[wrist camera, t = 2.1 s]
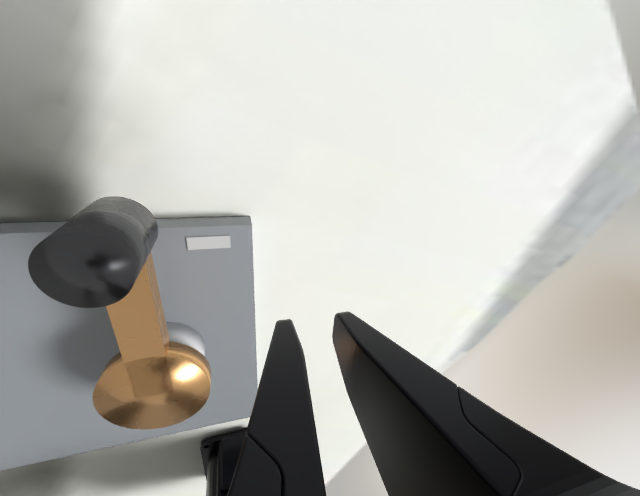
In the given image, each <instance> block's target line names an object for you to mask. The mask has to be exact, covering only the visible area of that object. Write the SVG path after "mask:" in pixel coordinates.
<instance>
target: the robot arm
mask: <svg viewBox="0 0 640 496" xmlns="http://www.w3.org/2000/svg"><path fill="white" fill-rule="evenodd" d="M332 337H333V344H334V347H335V351H336V354H337V358H338V362H339V365H340V369H341V372H342V376H343V379H344V383H345V386H346V390H347V393H348V395H349V398H350V401H351V403H352V406H353V408H354V411H355V413H356V416H357V418H358V421H359V423H360V426H361V428H362V431H363V433H364V436H365V438H366V440H367V443H368V445H369V448H370V450H371V453H372V455H373V458H374V460H375V463H376V465H377V467H378V470H379V473H380V475H381V477H382V480H383V483H384V485H385V487H386V490H387V492H388V495H389V496H640V490H638V489H635V488H632V487H630V486H627V485H625V484H623V483H620V482H617V481H616V480H614V479H612V478H610V477H608V476H605V475H604V474H602V473H600V472H598V471H596V470H594V469H592V468H591V467H589V466H587V465H586V464H584V463H582V462H581V461H579V460H577V459H575V458H574V457H572V456H571V455H569V454H567V453H565V452H564V451H562V450H560V449H559V448H557V447H555V446H554V445H552V444H550V443H548V442H546V441H545V440H543V439H542V438H540V437H538V436H536V435H535V434H533V433H531V432H530V431H528V430H526V429H525V428H523V427H521V426H520V425H518V424H517V423H515V422H513V421H512V420H510V419H508V418H507V417H505V416H503V415H502V414H500V413H499V412H497V411H495V410H494V409H492V408H491V407H489V406H488V405H486V404H485V403H483V402H482V401H480V400H479V399H477V398H476V397H474V396H472V395H471V394H470V393H468V392H467V391H465V390H464V389H462V388H461V387H457V385H456V384H455V383H453V382H452V381H450V380H449V379H447V378H446V377H444V376H443V375H442V374H440V373H439V372H437V371H436V370H434V369H433V368H431V367H430V366H428V365H427V364H425V363H424V362H423V361H421V360H420V359H418V358H417V357H415V356H414V355H412V354H411V353H409V352H408V351H406V350H405V349H404V348H402V347H401V346H399V345H398V344H396V343H395V342H393V341H392V340H390V339H389V338H387V337H386V336H384V335H383V334H382V333H380V332H379V331H377V330H376V329H374V328H373V327H371V326H370V325H368V324H367V323H365V322H364V321H362V320H361V319H360V318H358V317H357V316H355V315H354V314H352V313H351V312H341V313H337V314H336V315H335V318H334V326H333V335H332ZM201 453H202V458H203V464H204V469H205V474H206V480H207V489H206V496H326V491H325V484H324V478H323V472H322V465H321V459H320V453H319V446H318V440H317V434H316V427H315V421H314V415H313V408H312V402H311V395H310V389H309V383H308V376H307V370H306V364H305V357H304V353H303V349H302V346H301V343H300V341H299V338H298V335H297V333H296V330H295V327H294V325H293V322H292V320H290V319H287V320H279V321H277V322H276V325H275V329H274V332H273V336H272V340H271V343H270V347H269V351H268V354H267V358H266V362H265V365H264V369H263V373H262V376H261V380H260V384H259V387H258V391H257V395H256V398H255V402H254V406H253V409H252V413H251V417H250V420H249V424H248V428H247V430H243V431H239V432H234V433H230V434H226V435H221V436H217V437H212V438H208V439H204V440H203V441H202V442H201Z"/></svg>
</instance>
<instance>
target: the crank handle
mask: <svg viewBox="0 0 640 496" xmlns="http://www.w3.org/2000/svg"><path fill="white" fill-rule="evenodd" d="M157 237H158V226H157V222H156V220H155V218H154V217H153V215H152V214H151V213H150V211H149V210H148V209H147V208H145V207H144V206H143V205H141V204H140V203H138V202H136V201H134V200H131V199H128V198H124V197H105V198H101V199H98V200H96V201H94V202H93V203H91V204H90V205H89V206H87V207H86V208H85V209H83V210H82V211H81V212H79V213H78V214H77V215H75V216H74V217H73V218H71V219H70V220H69V221H68V222H66V223H65V224H64V225H62V226H61V227H60V228H58V229H57V230H56V231H54V232H53V233H52V234H50V235H49V236H48V237H46V238H45V239H44V240H42V241H41V242H40V243H39V244H38V245H36V246H35V248H34V249H33V250H32V252H31V254H30V256H29V260H28V270H29V274H30V277H31V278H32V280H33V282H34V283H35V285H36V286H37V287H38V288H39V289H40V290H41V291H42V292H43V293H45V294H46V295H47V296H49V297H50V298H52V299H54V300H56V301H58V302H61V303H63V304H66V305H70V306H74V307H80V308H98V307H104V306H106V308H107V311H108V314H109V318H110V321H111V324H112V327H113V330H114V333H115V336H116V340H117V343H118V346H119V349H120V352H119V353H118V354H116V355H115V356H114V357H113V358H111V359H110V360H109V362H108V363H107V364H106V366H105V367H104V369H103V371H102V373H101V375H100V377H99V380H98V382H97V384H96V386H95V389H94V391H93V396H92V398H93V404H94V407H95V409H96V411H97V412H98V413H99V414H100V415H101V416H102V417H103V418H104V419H106V420H107V421H109V422H111V423H113V424H115V425H118V426H121V427H125V428H130V429H140V430H147V429H158V428H164V427H168V426H172V425H175V424H178V423H180V422H182V421H184V420H186V419H188V418H190V417H191V416H193V415H194V414H196V413H197V412H198V411H199V410H200V409H201V408H202V407H203V406H204V405H205V403H206V402H207V400H208V397H209V395H210V386H211V367H210V364H209V362H208V360H207V359H206V357H205V356H204V355H203V354H202V353H200V352H199V351H198V350H196V349H194V348H192V347H190V346H188V345H185V344H181V343H177V342H170V339H169V335H168V330H167V325H166V320H165V315H164V311H163V306H162V301H161V296H160V292H159V287H158V282H157V277H156V273H155V268H154V263H153V258H152V254H151V250H152V248H153V246H154V244H155V242H156V240H157Z"/></svg>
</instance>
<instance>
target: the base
mask: <svg viewBox="0 0 640 496" xmlns="http://www.w3.org/2000/svg"><path fill="white" fill-rule="evenodd" d="M155 220H156V222H157V226H158V237H157V240H156V242H155V244H154V246H153V248H152V250H151V254H152V258H153V263H154V268H155V273H156V277H157V282H158V287H159V292H160V296H161V301H162V306H163V311H164V315H165V320H166V325H167V330H168V335H169V339H170V342H177V343H181V344H185V345H188V346H190V347H192V348H194V349H196V350H198V351H199V352H200V353H202V354H203V355H204V356H205V357H206V359H207V360H208V362H209V364H210V367H211V386H210V395H209V397H208V400H207V402H206V403H205V405H204V406H203V407H202V408H201V409H200V410H199V411H198V412H197V413H196V414H194V415H193V416H191V417H190V418H188V419H186V420H184V421H182V422H180V423H178V424H175V425H172V426H168V427H164V428H158V429H147V430H140V429H130V428H125V427H121V426H118V425H115V424H113V423H111V422H109V421H107V420H106V419H104V418H103V417H102V416H101V415H100V414H99V413H98V412H97V411H96V409H95V407H94V404H93V398H92V396H93V391H94V389H95V386H96V384H97V382H98V380H99V377H100V375H101V373H102V371H103V369H104V367H105V366H106V364H107V363H108V362H109V360H110V359H111V358H113V357H114V356H115V355H116V354H118V353H119V352H120V349H119V346H118V343H117V340H116V336H115V333H114V330H113V327H112V324H111V321H110V318H109V314H108V311H107V308H106V306H104V307H98V308H80V307H74V306H70V305H66V304H63V303H61V302H58V301H56V300H54V299H52V298H50V297H49V296H47V295H46V294H45V293H43V292H42V291H41V290H40V289H39V288H38V287H37V286H36V285H35V283H34V282H33V280H32V278H31V277H30V274H29V270H28V260H29V256H30V254H31V252H32V250H33V249H34V248H35V246H36V245H38V244H39V243H40V242H41V241H42V240H44V239H45V238H46V237H48V236H49V235H50V234H52V233H53V232H54V231H56V230H57V229H58V228H60V227H61V226H62V225H64V224H65V223H66V222H68V221H59V222H23V223H0V471H2V470H7V469H11V468H16V467H20V466H25V465H30V464H34V463H39V462H44V461H48V460H53V459H58V458H62V457H67V456H71V455H76V454H81V453H85V452H90V451H95V450H99V449H104V448H108V447H113V446H118V445H122V444H127V443H132V442H136V441H141V440H146V439H150V438H155V437H159V436H164V435H169V434H173V433H178V432H183V431H187V430H192V429H197V428H201V427H206V426H210V425H215V424H220V423H224V422H229V421H234V420H238V419H243V418H247V417H251V413H252V409H253V406H254V402H255V398H256V395H257V391H258V390H257V361H256V332H255V304H254V275H253V246H252V224H251V218H250V216H244V217H207V218H170V219H155Z"/></svg>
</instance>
